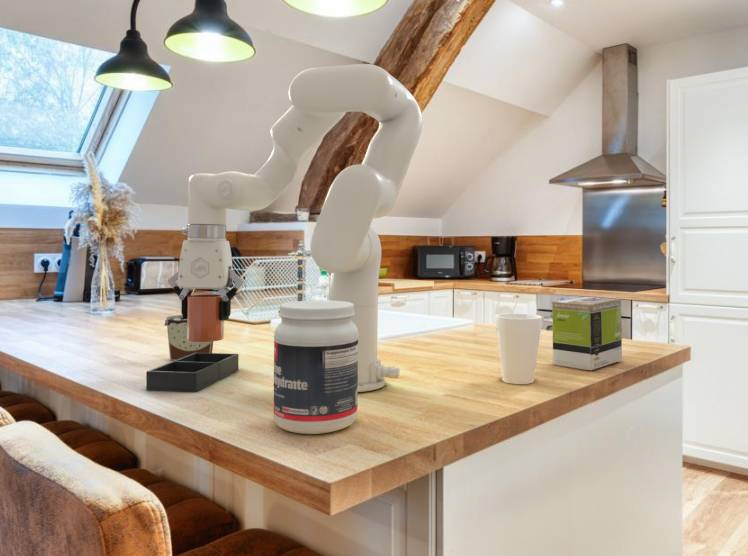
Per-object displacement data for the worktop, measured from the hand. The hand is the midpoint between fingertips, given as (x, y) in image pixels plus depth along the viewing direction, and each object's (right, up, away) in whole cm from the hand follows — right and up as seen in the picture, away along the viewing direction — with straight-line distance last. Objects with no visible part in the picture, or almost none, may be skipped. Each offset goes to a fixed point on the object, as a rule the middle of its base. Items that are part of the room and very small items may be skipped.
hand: (205, 318), depth 128 cm
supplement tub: (+28, -12, -33) cm, 45 cm away
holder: (0, -12, -5) cm, 12 cm away
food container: (-8, -12, +16) cm, 22 cm away
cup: (0, -4, 0) cm, 4 cm away
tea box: (+83, -12, +14) cm, 85 cm away
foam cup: (+64, -12, -3) cm, 65 cm away
